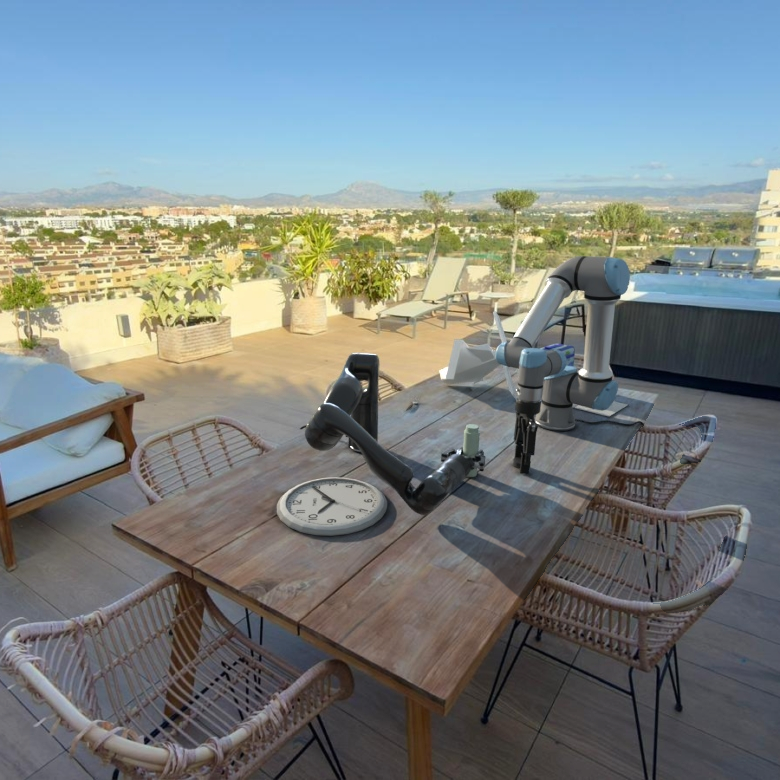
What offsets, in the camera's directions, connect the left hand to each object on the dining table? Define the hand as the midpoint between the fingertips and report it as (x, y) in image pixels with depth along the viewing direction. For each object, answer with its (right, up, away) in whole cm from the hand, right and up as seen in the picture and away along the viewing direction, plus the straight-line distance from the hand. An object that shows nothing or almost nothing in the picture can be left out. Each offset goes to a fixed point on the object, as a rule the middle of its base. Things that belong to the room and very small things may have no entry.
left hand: (473, 450), depth 163 cm
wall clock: (-42, -13, -20) cm, 48 cm away
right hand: (+16, -6, +3) cm, 17 cm away
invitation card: (+65, +12, +63) cm, 92 cm away
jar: (-1, -7, 0) cm, 7 cm away
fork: (-17, +12, +60) cm, 63 cm away
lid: (+16, -4, +3) cm, 16 cm away
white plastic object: (+16, +18, +80) cm, 84 cm away
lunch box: (+51, +20, +89) cm, 105 cm away
